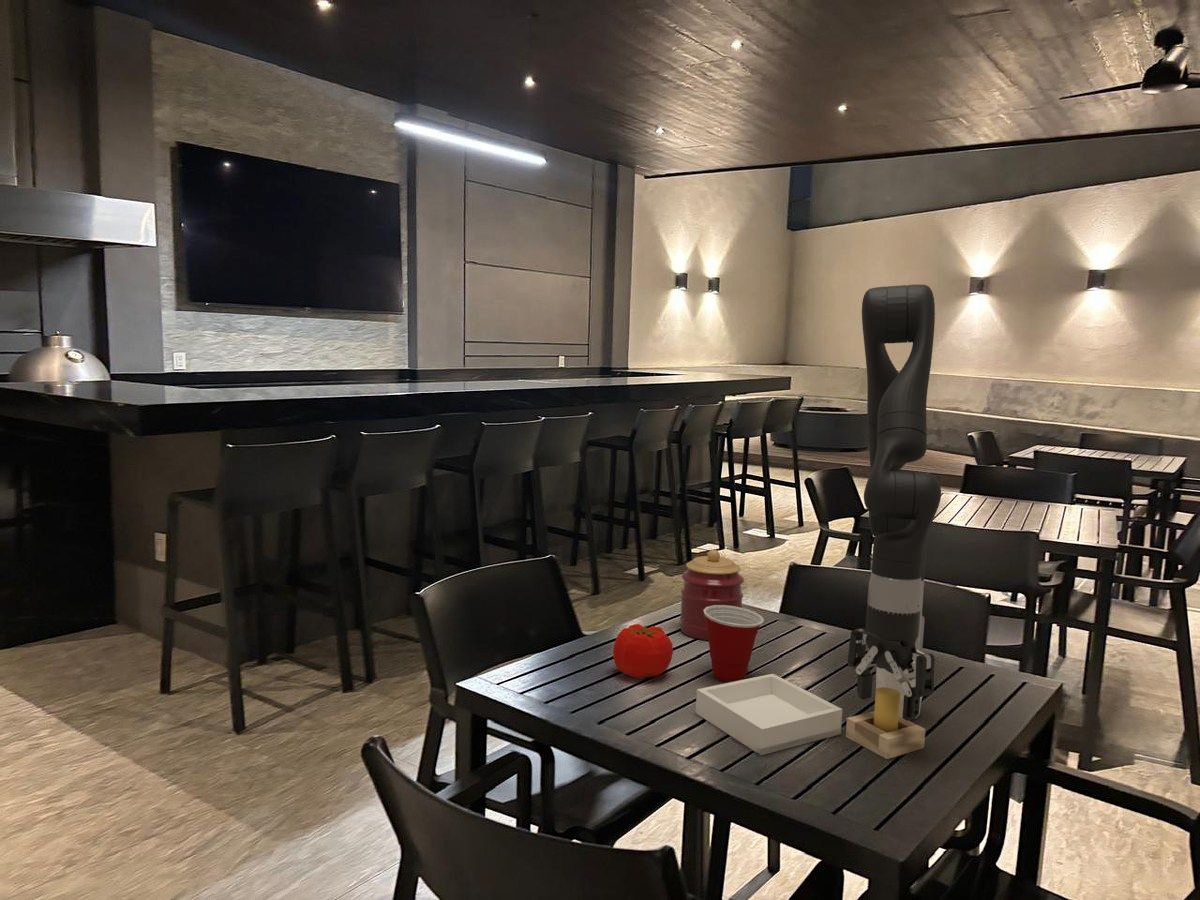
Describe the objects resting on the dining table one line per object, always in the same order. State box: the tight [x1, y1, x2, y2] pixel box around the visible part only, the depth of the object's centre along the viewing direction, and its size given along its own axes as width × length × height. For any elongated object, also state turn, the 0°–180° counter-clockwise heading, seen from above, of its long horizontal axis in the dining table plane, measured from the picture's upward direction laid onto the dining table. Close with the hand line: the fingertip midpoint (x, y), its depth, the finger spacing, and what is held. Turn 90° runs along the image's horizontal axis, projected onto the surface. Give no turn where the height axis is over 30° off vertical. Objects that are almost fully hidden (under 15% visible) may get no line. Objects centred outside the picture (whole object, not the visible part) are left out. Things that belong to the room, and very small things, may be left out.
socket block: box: [845, 710, 926, 760], centre depth 126 cm, size 8×8×3 cm
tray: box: [695, 673, 843, 756], centre depth 131 cm, size 16×16×4 cm
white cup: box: [875, 650, 925, 720], centre depth 137 cm, size 8×8×10 cm
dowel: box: [873, 687, 900, 733], centre depth 125 cm, size 4×4×8 cm
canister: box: [679, 549, 745, 641], centre depth 174 cm, size 13×13×18 cm
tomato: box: [612, 623, 674, 679], centre depth 150 cm, size 11×11×9 cm
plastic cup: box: [704, 605, 765, 683], centre depth 149 cm, size 11×11×12 cm
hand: (886, 708), depth 125 cm, fingers open, 8 cm apart
